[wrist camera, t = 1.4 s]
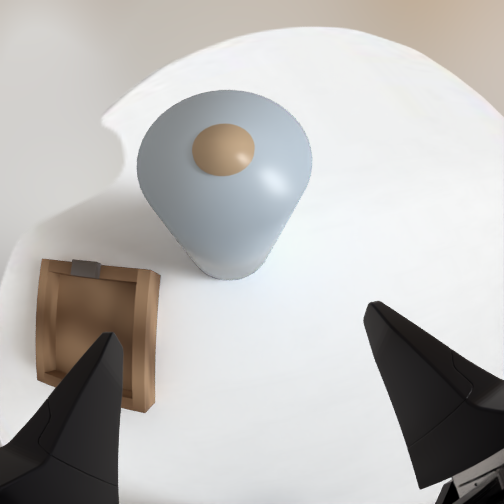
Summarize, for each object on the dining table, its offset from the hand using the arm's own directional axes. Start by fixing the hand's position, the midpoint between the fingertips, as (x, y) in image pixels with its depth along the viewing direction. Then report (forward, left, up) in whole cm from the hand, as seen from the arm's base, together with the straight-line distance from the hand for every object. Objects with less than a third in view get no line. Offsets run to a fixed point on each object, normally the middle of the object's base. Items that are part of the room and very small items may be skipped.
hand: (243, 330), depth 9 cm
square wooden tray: (-2, +12, -13) cm, 18 cm away
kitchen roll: (+7, +1, -13) cm, 15 cm away
